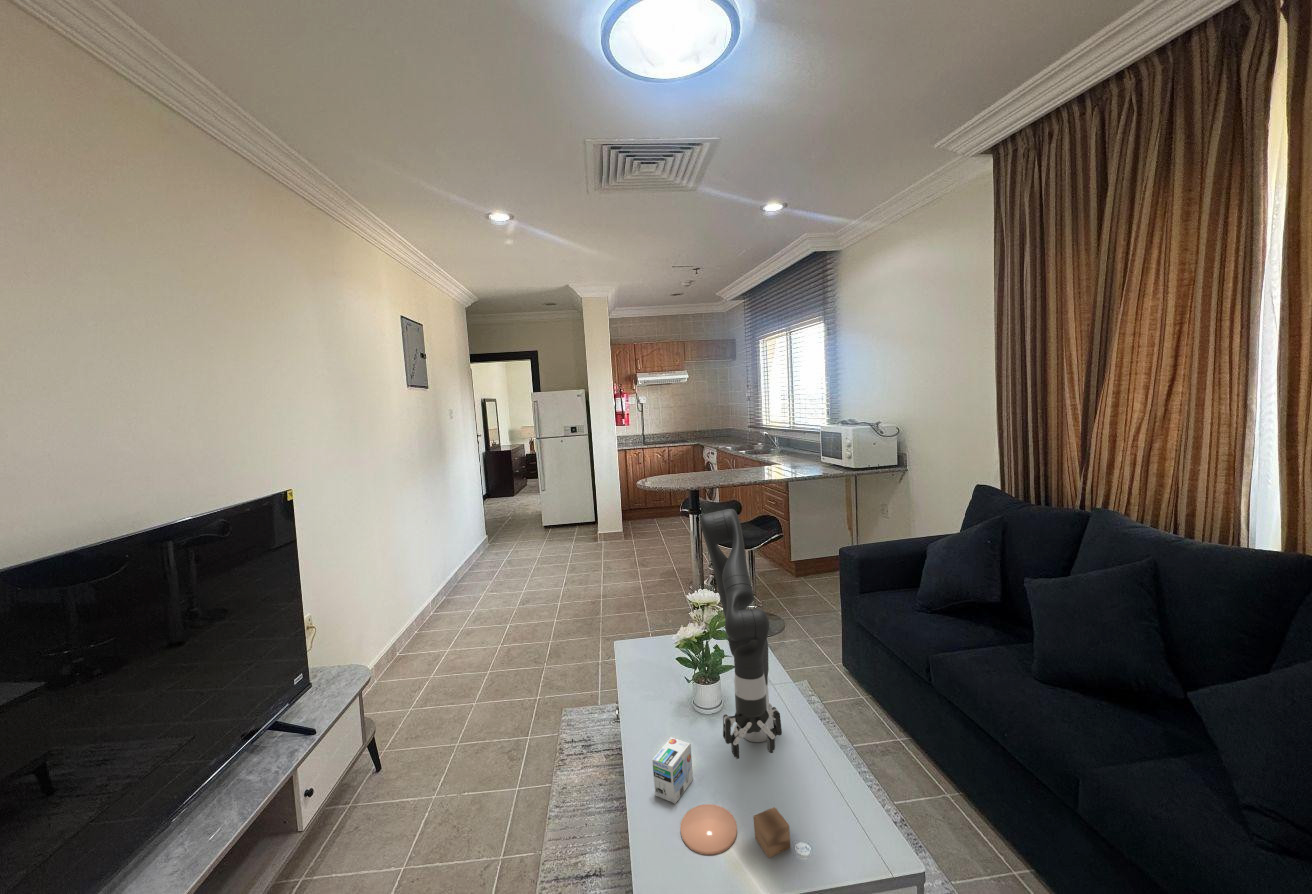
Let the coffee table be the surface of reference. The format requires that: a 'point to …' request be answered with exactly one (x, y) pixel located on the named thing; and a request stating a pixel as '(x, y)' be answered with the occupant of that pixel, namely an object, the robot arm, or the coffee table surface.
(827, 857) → the coffee table surface
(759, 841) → the walnut cube
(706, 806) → the terracotta coaster
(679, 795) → the light bulb box
